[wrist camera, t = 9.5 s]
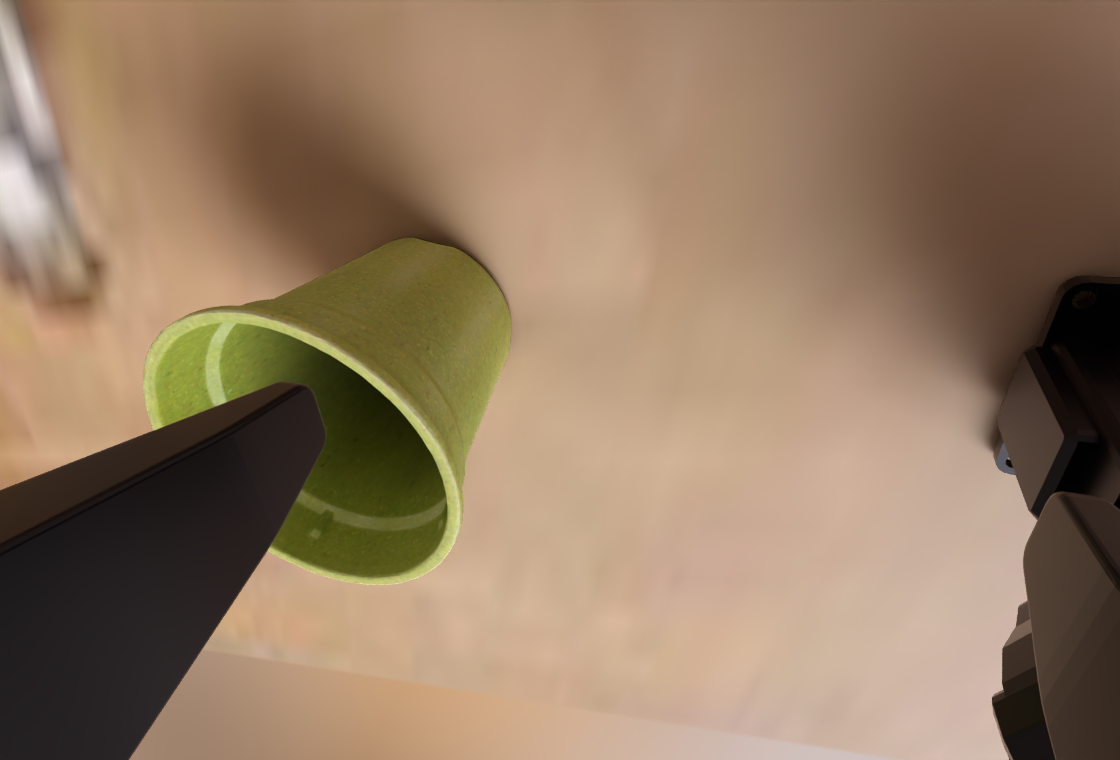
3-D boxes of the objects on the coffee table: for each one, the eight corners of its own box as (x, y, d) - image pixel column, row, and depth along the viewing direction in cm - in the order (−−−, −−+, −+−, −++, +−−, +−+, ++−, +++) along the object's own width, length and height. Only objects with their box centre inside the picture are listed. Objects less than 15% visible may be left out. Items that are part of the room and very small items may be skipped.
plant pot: (612, 354, 23) (530, 536, 16) (443, 448, 28) (328, 615, 22) (431, 130, 21) (244, 236, 14) (281, 278, 26) (93, 408, 19)
